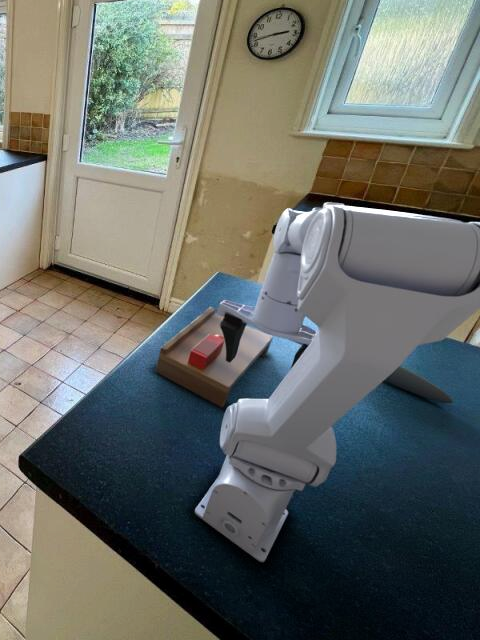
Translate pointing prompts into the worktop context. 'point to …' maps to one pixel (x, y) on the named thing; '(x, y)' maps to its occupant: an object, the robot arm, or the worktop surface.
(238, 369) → the shelf
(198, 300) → the worktop surface
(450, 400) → the paintbrush
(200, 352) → the red rectangular prism
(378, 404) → the worktop surface
